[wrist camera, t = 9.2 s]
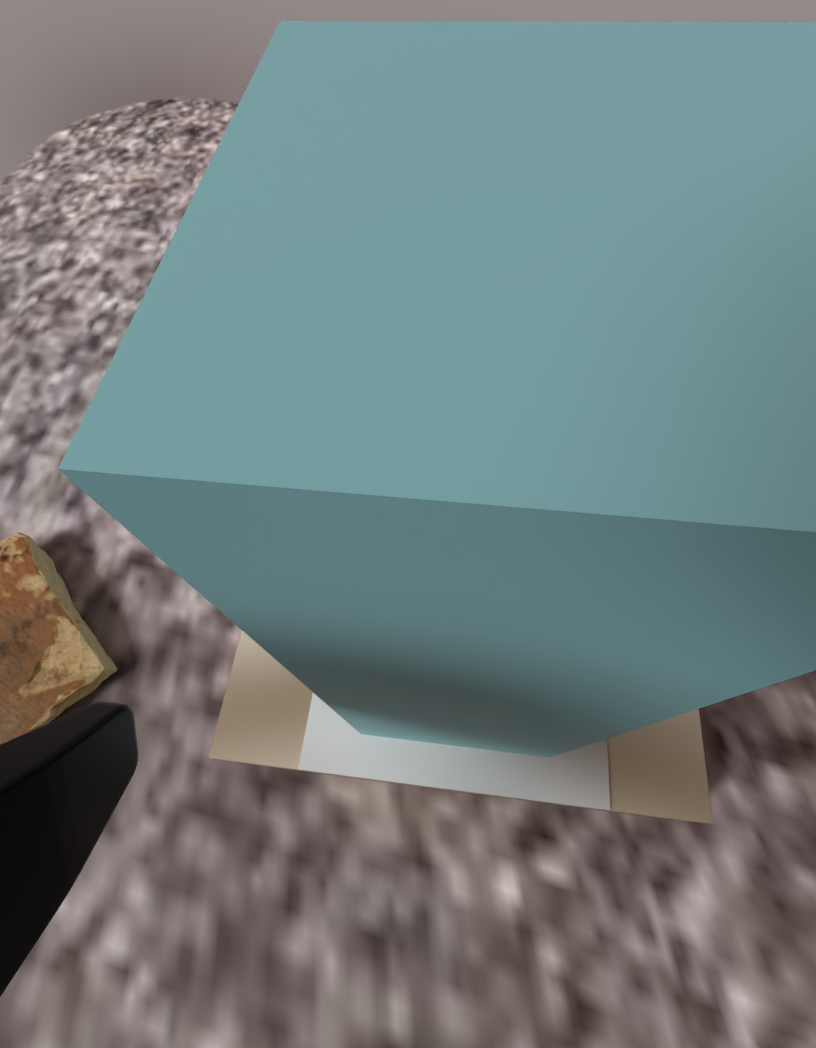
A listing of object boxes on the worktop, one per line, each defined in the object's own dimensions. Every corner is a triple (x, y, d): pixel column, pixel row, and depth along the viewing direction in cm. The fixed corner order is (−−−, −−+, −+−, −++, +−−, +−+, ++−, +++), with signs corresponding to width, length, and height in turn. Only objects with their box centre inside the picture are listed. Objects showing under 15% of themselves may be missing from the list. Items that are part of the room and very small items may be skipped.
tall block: (549, 757, 14) (1153, 561, 2) (360, 734, 14) (56, 469, 3) (549, 579, 16) (850, 22, 5) (386, 563, 16) (279, 20, 5)
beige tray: (679, 820, 15) (757, 828, 11) (233, 762, 16) (176, 752, 12) (625, 285, 25) (658, 199, 21) (352, 272, 26) (340, 189, 22)
